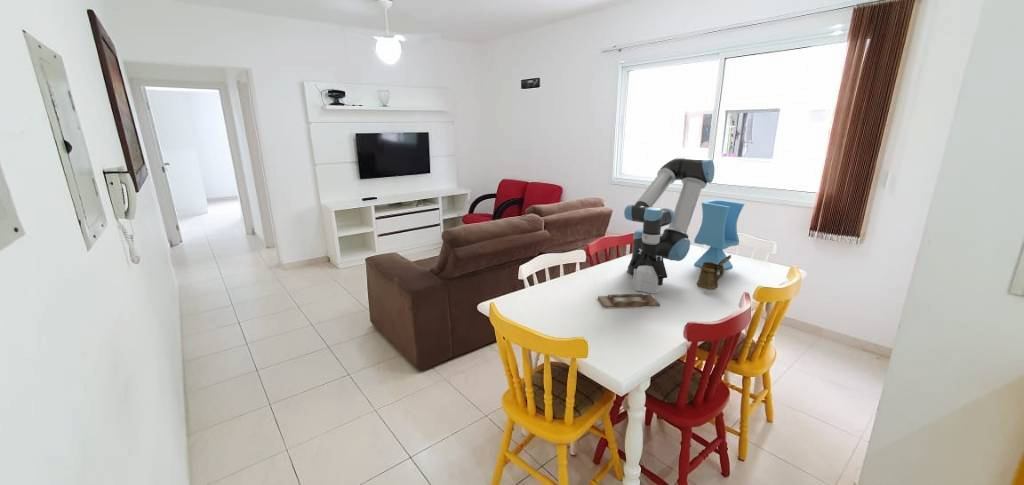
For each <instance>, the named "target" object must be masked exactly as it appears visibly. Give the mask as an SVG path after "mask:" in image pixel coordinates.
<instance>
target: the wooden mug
mask: <svg viewBox="0 0 1024 485" xmlns="http://www.w3.org/2000/svg"><path fill="white" fill-rule="evenodd" d="M726 256H727V255H726ZM731 258H732V255H731V254H730V255H728V256H727V257H726V258H724V259H723V260H722V261H721V262H720V263H719V264H715V263H711V262H704V263H703V265H702V267H700V269H701V270H700V274H699V276H698V280H697V282H696V286H697V287H698V288H700V289H703V290H710V291H711V290H712V291H713V290H717V289H718V287H719V283H718V282H719V280H720V279H721V278H722V277H723V275H724V273H725V270H724V267H723V264H724V263H726V262H727V261H728V260H729V261H730V259H731ZM718 270H719V271H720V272H718Z"/></svg>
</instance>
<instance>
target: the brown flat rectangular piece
mask: <svg viewBox="0 0 1024 485" xmlns="http://www.w3.org/2000/svg"><path fill="white" fill-rule="evenodd" d="M597 299H598V301H599V300H600V301H599V303H600V302H601V303H602V304H601V303H600V304H601V305H603V306H604V307H621V308H642V306H651V307H660V306H661V304H660V303H659V301H657V300H656V298H655V297H654V296H653V295H651V294H644V293H625V294H624V293H622V294H621V293H620V294H608V295H599V296H597ZM603 306H602V307H603ZM604 307H603V308H604Z"/></svg>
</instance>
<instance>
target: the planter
mask: <svg viewBox="0 0 1024 485" xmlns="http://www.w3.org/2000/svg"><path fill="white" fill-rule="evenodd" d="M744 206H745V203H743V202H737V201H736V202H735V201H730V200H729V201H728V200H722V199H711V200H705V201H702V202H701V210H702V219H701V225H700V227H699V229H698V232H697V234H696V236H695V238H694V241H693V243H694V244H698V245H705V246H709V248H708V249H707V250H706V251H705V252H704V253H703V254H702V255H701V256H700V257H699V258H698V259H697V260H696V261H695V262H694V264H693V266H694V267H697V268H701V267H702V265H703V263H704V262H711V263H715V264H719V263H720V262H721V261H722V260H723V259H724V258H726V257H727V255H726V253H725V252H724V250H727V249H728V248H730V247H735V246H739V244H740V239H739V234H738V228H737V227H738V220H739V217H740V213H741V211H742V210H743V209H744ZM733 266H734V265H733V263H732V262H731V261H730V259H729V260H728V261H727V262H726V263H724V264H723V267H724V271H727V270H729V269H732V268H733ZM717 273H720V271H719V270H718V272H717Z"/></svg>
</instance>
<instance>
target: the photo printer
mask: <svg viewBox="0 0 1024 485" xmlns="http://www.w3.org/2000/svg"><path fill="white" fill-rule="evenodd" d="M656 278H658V277H657V274H656V272H655V270H654V268H653V267H652V266H638V268H637V271H636V281H635V282H634V290H635V291H638V292H643V293H649V294H653V295H657V294H658V292H655V286H656Z"/></svg>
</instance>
